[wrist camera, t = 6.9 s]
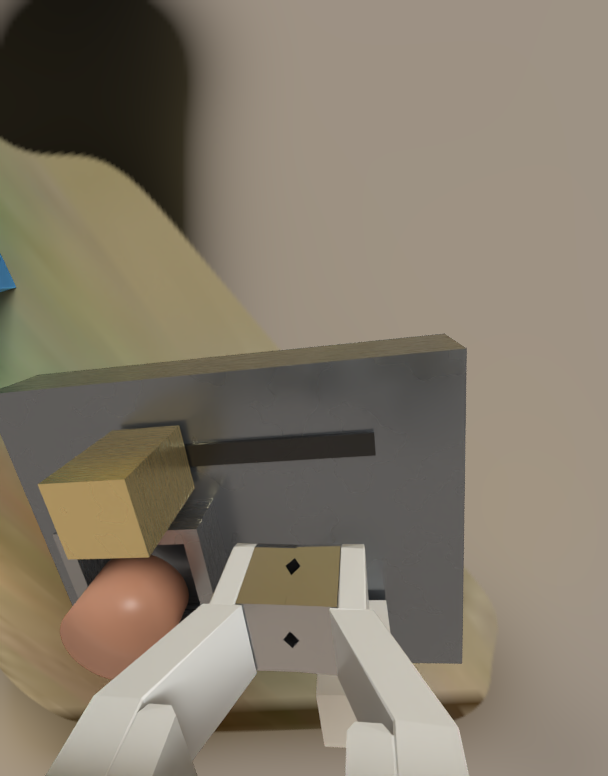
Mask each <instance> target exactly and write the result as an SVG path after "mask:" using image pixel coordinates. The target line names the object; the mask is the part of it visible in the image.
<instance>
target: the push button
mask: <svg viewBox="0 0 608 776" xmlns="http://www.w3.org/2000/svg"><path fill="white" fill-rule="evenodd" d="M188 600H189V592H188V587H187V585H186V582H185V580H184V578H183V577H182V576H181V574H180V573H179V572H178V571H177V570H176V569H175V568H174V567H173V566H172V565H170V564H169V563H168V562H166V561H164V560H163V559H161V558H159V557H156V556H154V555H150V557H148V558H112V559H110V560H109V561H108V562H107V563H106V565H105V566H104V567H103V568H102V570H101V571H100V572H99V573H98V575H97V576H96V577H95V579H94V580H93V581H92V582H91V584H90V585H89V586H88V587H87V589H86V590H85V591H84V593H83V594H82V595H81V596H80V598H79V599H78V600H77V601H76V603H75V604H74V605H73V606H72V608H71V609H70V610H69V612H68V613H67V614H66V615H65V617H64V618H63V620H62V623H61V627H60V635H61V639H62V642H63V645H64V646H65V648H66V650H67V651H68V653H69V654H70V655H71V656H72V658H73V659H74V660H76V661H77V662H78V663H79V664H80V665H81V666H83V667H84V668H86V669H87V670H89V671H91V672H93V673H95V674H97V675H99V676H102V677H105V678H108V679H112V680H113V679H114V678H115V677H116V676H117V675H119V674H120V673H121V672H122V671H123V670H125V669H126V668H127V667H128V666H129V665H130V664H132V663H133V662H134V661H135V660H136V659H138V658H139V657H140V656H141V655H142V654H144V653H145V652H146V651H147V650H148V649H149V648H151V647H152V646H153V645H154V644H155V643H157V642H158V641H159V640H160V639H161V638H162V637H164V636H165V635H166V634H167V633H168V632H170V631H171V630H172V629H173V628H174V627H176V626H177V625H178V624H179V622H180V620H181V618H182V615H183V613H184V611H185V609H186V607H187V604H188Z"/></svg>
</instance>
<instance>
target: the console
mask: <svg viewBox="0 0 608 776" xmlns="http://www.w3.org/2000/svg"><path fill="white" fill-rule="evenodd" d="M466 355H467V349H466V348H465V347H464V346H462V345H461V344H459V343H458V342H456V341H455V340H453V339H452V338H450V337H449V336H447V335H446V334H436V335H428V336H427V335H426V336H417V337H407V338H398V339H388V340H378V341H368V342H358V343H349V344H338V345H329V346H318V347H309V348H299V349H289V350H279V351H269V352H260V353H250V354H240V355H230V356H220V357H210V358H201V359H191V360H181V361H171V362H161V363H152V364H142V365H132V366H122V367H112V368H102V369H93V370H83V371H73V372H63V373H53V374H44V375H37V376H34V377H32V378H29V379H26V380H23V381H21V382H18V383H15V384H12V385H10V386H7V387H4V388H1V389H0V434H1V436H2V439H3V441H4V443H5V446H6V448H7V451H8V453H9V455H10V458H11V460H12V463H13V465H14V467H15V470H16V472H17V474H18V477H19V479H20V482H21V484H22V486H23V489H24V491H25V494H26V496H27V498H28V501H29V503H30V505H31V508H32V510H33V513H34V515H35V517H36V520H37V522H38V524H39V527H40V529H41V532H42V534H43V536H44V539H45V541H46V544H47V546H48V548H49V551H50V553H51V555H52V558H53V560H54V563H55V565H56V567H57V570H58V572H59V574H60V577H61V579H62V582H63V584H64V586H65V589H66V591H67V594H68V596H69V598H70V601H71V603H72V605H74V604H75V603H76V601H77V600H78V599H79V598H80V596H81V595H82V594H83V593H84V591H85V590H86V589H87V587H88V586H89V585H90V584H91V582H92V581H93V580H94V579H95V577H96V576H97V575H98V573H99V572H100V571H101V570H102V568H103V567H104V566H105V565H106V563H107V562H108V561H109V560H110V559H112V558H110V559H71V560H68V559H67V556H66V554H65V551H64V549H63V546H62V544H61V541H60V539H59V536H58V534H57V531H56V529H55V526H54V524H53V521H52V519H51V517H50V514H49V512H48V509H47V507H46V504H45V502H44V499H43V497H42V494H41V492H40V489H39V487H38V484H39V483H40V482H42V481H43V480H44V479H46V478H47V477H48V476H50V475H51V474H53V473H54V472H55V471H57V470H58V469H60V468H61V467H62V466H64V465H65V464H66V463H68V462H69V461H71V460H72V459H73V458H75V457H76V456H78V455H79V454H80V453H82V452H83V451H85V450H86V449H87V448H89V447H90V446H91V445H93V444H94V443H96V442H97V441H98V440H100V439H101V438H103V437H104V436H105V435H107V434H108V433H109V432H111V431H112V430H125V429H138V428H151V427H164V426H177V425H179V426H180V430H181V434H182V438H183V442H184V446H185V450H186V454H187V458H188V462H189V466H190V470H191V474H192V478H193V482H194V486H195V489H194V490H193V492H192V493H191V495H190V496H189V498H188V499H187V501H186V502H185V504H184V505H183V507H182V508H181V510H180V511H179V513H178V514H177V516H176V517H175V519H174V520H173V522H172V524H171V525H170V527H169V528H168V530H167V531H166V533H165V534H164V536H163V537H162V539H161V540H160V542H159V543H158V545H157V546H156V548H155V549H154V551H153V552H152V554H151V555H154V556H156V557H159V558H161V559H163V560H164V561H166V562H168V563H169V564H170V565H172V566H173V567H174V568H175V569H176V570H177V571H178V572H179V573H180V574H181V576H182V577H183V578H184V580H185V582H186V585H187V587H188V592H189V600H188V604H187V607H186V609H185V611H184V613H183V615H182V618H181V620H180V622H181V621H183V620H184V619H185V618H186V617H187V616H189V615H190V614H191V613H192V612H193V611H194V610H196V609H197V608H198V607H199V606H200V605H202V604H209V603H210V600H211V598H212V596H213V593H214V591H215V589H216V586H217V584H218V582H219V579H220V577H221V575H222V572H223V570H224V568H225V565H226V563H227V561H228V558H229V556H230V554H231V551H232V549H233V547H234V546H235V545H236V544H237V543H248V544H258V543H264V544H294V545H302V544H364V546H365V556H366V569H367V583H368V597H369V600H386V603H387V611H388V618H389V626H390V633H391V634H392V636H393V637H394V639H395V640H396V641H397V643H398V644H399V646H400V647H401V648H402V650H403V651H404V653H405V654H406V655H407V657H408V658H409V660H410V661H411V662H412V663H457V664H462V635H463V566H464V558H463V557H464V496H465V493H464V492H465V426H466V358H467V356H466ZM180 622H179V623H180Z"/></svg>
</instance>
